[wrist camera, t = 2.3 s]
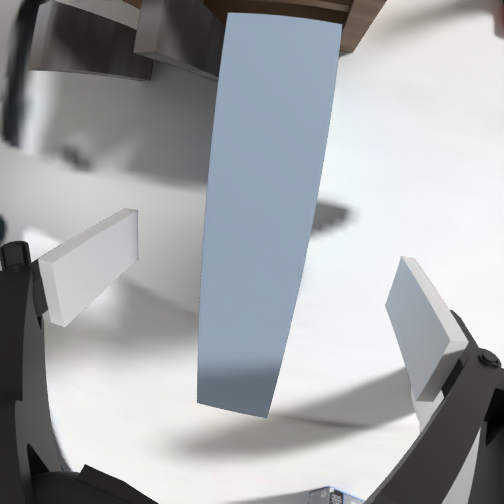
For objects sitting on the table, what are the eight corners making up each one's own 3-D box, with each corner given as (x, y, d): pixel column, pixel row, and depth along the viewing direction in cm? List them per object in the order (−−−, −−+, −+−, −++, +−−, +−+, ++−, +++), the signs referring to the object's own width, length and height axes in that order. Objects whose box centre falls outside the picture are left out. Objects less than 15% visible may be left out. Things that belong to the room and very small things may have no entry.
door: (270, 70, 17) (224, 12, 7) (323, 78, 16) (342, 24, 6) (243, 282, 22) (194, 402, 12) (287, 290, 22) (267, 418, 12)
